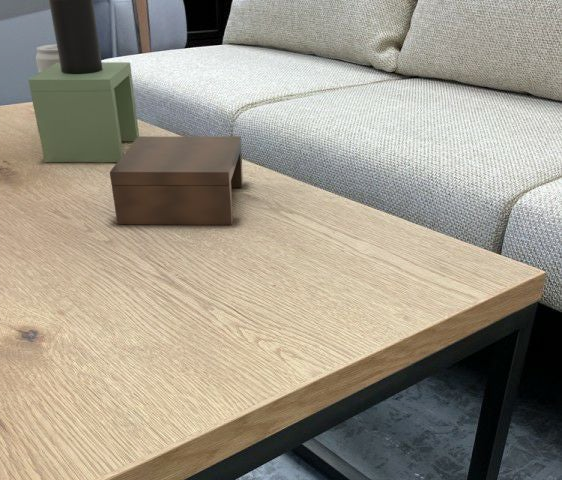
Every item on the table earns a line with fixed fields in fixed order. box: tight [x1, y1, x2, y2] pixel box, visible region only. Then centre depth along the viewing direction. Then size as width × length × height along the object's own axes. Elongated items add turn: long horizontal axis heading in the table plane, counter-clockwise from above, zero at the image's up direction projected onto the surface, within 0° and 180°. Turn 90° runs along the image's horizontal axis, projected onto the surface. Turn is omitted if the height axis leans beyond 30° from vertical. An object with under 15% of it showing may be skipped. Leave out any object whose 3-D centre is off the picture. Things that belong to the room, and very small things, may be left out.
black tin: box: [48, 0, 103, 74], centre depth 95 cm, size 6×6×9 cm
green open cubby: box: [28, 61, 140, 163], centre depth 101 cm, size 11×12×11 cm
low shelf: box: [109, 136, 244, 226], centre depth 83 cm, size 13×14×6 cm
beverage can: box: [35, 43, 60, 74], centre depth 112 cm, size 6×6×12 cm
